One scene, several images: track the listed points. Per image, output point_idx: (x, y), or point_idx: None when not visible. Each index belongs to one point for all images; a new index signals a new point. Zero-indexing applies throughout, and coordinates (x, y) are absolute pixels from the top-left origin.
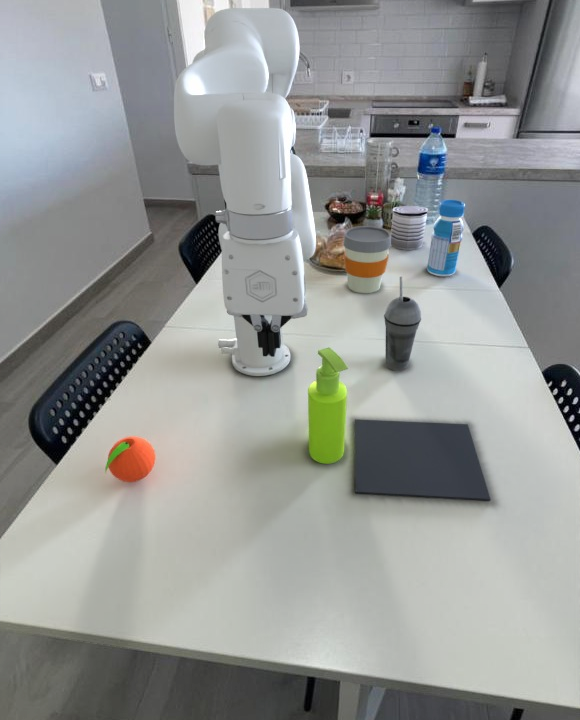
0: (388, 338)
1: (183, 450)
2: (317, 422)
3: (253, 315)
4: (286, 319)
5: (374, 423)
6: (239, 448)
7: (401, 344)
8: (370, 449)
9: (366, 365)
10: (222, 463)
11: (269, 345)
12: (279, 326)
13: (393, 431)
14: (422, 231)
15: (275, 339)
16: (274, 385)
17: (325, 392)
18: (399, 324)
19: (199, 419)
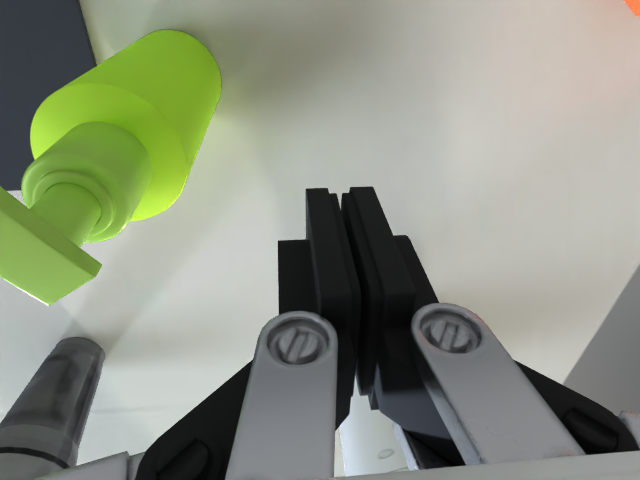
0: (71, 409)
1: (533, 51)
2: (157, 66)
3: (538, 443)
4: (192, 435)
5: None
6: (396, 69)
7: (35, 397)
8: (58, 87)
9: (145, 343)
10: (435, 11)
11: (338, 230)
12: (259, 357)
13: (18, 155)
14: None
15: (303, 276)
16: None
17: (97, 126)
18: (13, 452)
19: (496, 156)
